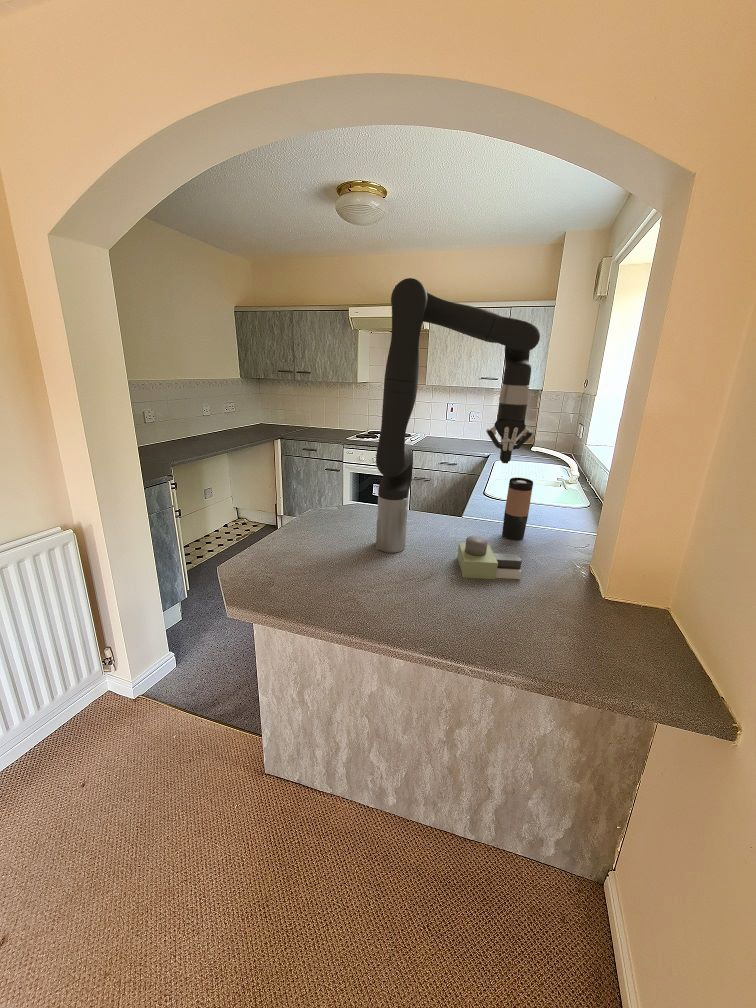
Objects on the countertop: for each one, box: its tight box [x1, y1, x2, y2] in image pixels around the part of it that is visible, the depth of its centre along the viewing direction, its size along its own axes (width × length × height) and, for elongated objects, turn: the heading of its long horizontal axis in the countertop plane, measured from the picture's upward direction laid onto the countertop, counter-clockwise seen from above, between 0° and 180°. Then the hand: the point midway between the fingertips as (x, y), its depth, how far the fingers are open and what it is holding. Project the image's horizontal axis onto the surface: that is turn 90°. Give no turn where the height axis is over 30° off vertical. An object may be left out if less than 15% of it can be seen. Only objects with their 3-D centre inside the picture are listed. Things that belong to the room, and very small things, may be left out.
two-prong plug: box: [456, 535, 522, 580], centre depth 117 cm, size 16×12×8 cm
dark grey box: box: [493, 552, 522, 570], centre depth 116 cm, size 7×4×5 cm, turn 87°
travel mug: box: [501, 477, 534, 541], centre depth 138 cm, size 8×8×20 cm
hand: (504, 462), depth 119 cm, fingers closed
